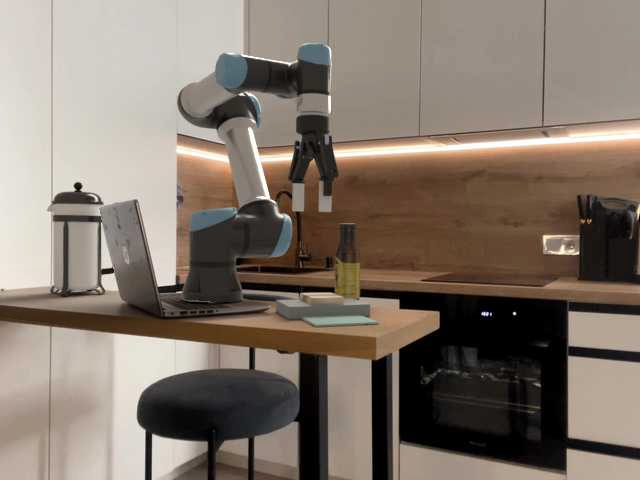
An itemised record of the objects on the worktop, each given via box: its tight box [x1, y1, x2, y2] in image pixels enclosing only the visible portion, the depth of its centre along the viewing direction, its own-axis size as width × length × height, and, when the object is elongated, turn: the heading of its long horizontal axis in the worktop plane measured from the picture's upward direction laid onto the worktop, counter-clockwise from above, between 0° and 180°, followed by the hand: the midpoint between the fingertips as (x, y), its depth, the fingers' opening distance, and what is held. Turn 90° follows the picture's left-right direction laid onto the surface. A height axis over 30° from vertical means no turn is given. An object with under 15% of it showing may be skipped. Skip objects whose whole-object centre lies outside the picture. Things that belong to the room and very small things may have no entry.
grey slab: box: [275, 298, 371, 320], centre depth 128 cm, size 11×18×2 cm, turn 108°
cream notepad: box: [299, 291, 344, 305], centre depth 128 cm, size 9×7×2 cm
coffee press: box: [46, 181, 115, 298], centre depth 158 cm, size 17×16×30 cm
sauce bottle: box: [334, 222, 361, 301], centre depth 144 cm, size 6×6×20 cm
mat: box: [301, 314, 379, 328], centre depth 118 cm, size 10×13×1 cm
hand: (310, 211), depth 131 cm, fingers open, 13 cm apart
